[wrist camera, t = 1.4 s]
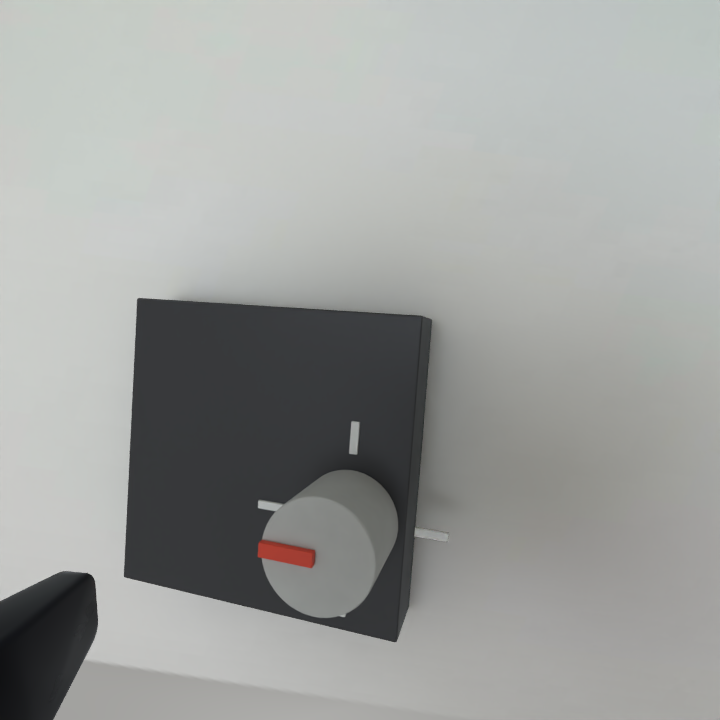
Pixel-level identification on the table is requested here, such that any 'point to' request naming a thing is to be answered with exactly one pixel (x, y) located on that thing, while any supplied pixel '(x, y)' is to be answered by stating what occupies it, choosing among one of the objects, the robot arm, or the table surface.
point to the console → (268, 441)
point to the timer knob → (329, 543)
